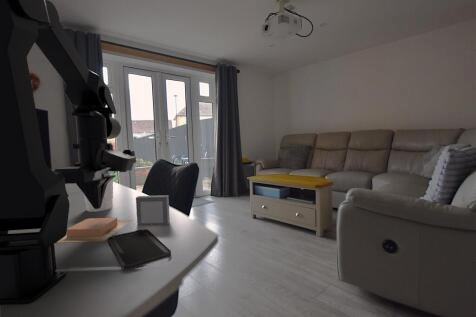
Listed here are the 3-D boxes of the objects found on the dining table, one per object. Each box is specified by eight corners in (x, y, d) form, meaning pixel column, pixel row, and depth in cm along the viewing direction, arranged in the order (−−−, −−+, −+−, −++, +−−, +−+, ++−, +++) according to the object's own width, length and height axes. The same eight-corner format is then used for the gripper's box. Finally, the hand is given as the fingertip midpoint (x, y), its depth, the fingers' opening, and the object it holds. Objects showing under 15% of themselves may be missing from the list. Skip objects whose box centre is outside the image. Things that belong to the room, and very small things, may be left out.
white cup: (120, 206, 76) (118, 173, 75) (103, 213, 68) (101, 177, 67) (96, 206, 77) (94, 174, 76) (77, 213, 69) (74, 178, 68)
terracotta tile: (117, 224, 58) (100, 236, 51) (87, 225, 58) (66, 237, 51) (117, 217, 57) (100, 228, 51) (87, 218, 58) (66, 229, 51)
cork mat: (103, 243, 48) (103, 241, 48) (47, 244, 48) (47, 242, 48) (132, 221, 61) (132, 219, 61) (87, 222, 61) (87, 220, 61)
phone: (146, 228, 54) (173, 252, 42) (146, 233, 54) (173, 259, 42) (106, 237, 49) (122, 267, 37) (106, 242, 49) (123, 274, 37)
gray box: (167, 226, 57) (166, 196, 56) (137, 227, 57) (135, 197, 56) (169, 224, 58) (168, 195, 58) (140, 225, 58) (138, 195, 58)
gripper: (106, 138, 45) (112, 221, 46) (145, 138, 64) (148, 197, 65) (45, 139, 45) (52, 222, 46) (101, 139, 64) (105, 198, 65)
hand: (97, 208), depth 56 cm, fingers closed
